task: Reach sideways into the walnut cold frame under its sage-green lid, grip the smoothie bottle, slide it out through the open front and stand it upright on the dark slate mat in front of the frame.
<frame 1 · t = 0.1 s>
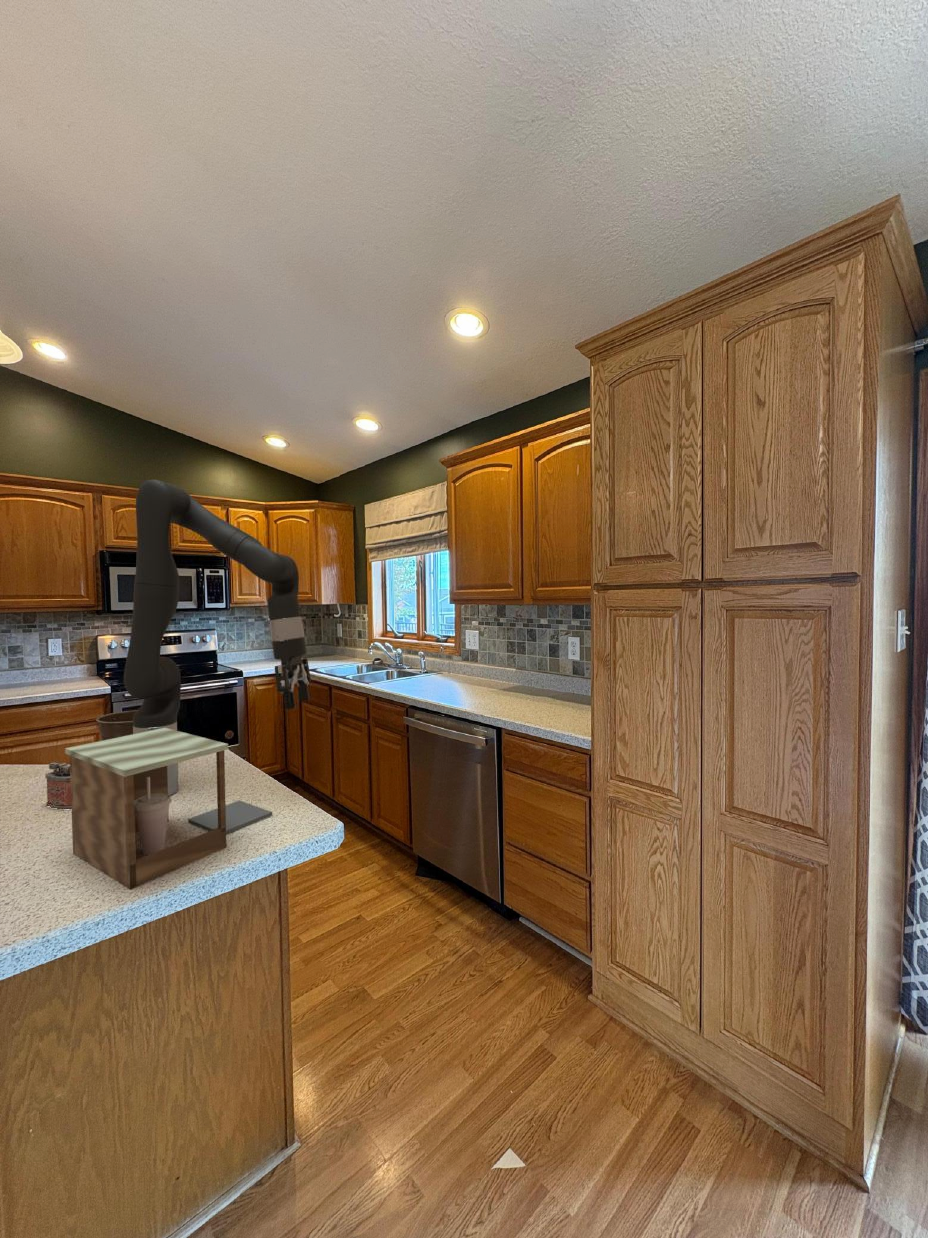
hand: (298, 704, 123), 22 cm above the countertop, tool pointing down, fingers open, 8 cm apart
smoothie: (153, 850, 98), on the countertop
plant pot: (134, 774, 141), on the countertop
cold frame: (153, 849, 98), on the countertop
lighter: (62, 807, 119), on the countertop
slate mat: (230, 819, 112), on the countertop
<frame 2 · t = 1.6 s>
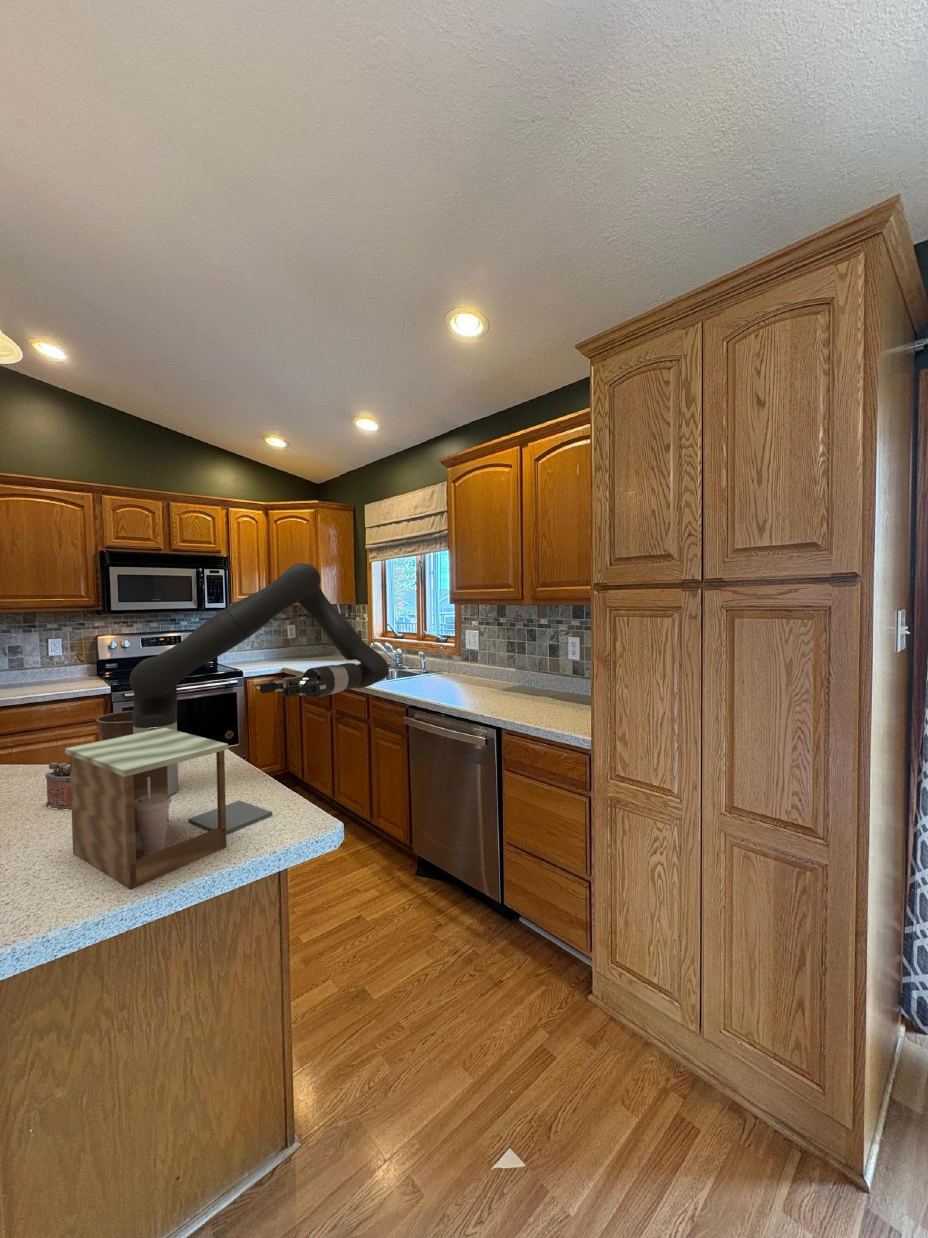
hand: (272, 690, 120), 26 cm above the countertop, tool horizontal, fingers open, 8 cm apart
nothing on the countertop moved.
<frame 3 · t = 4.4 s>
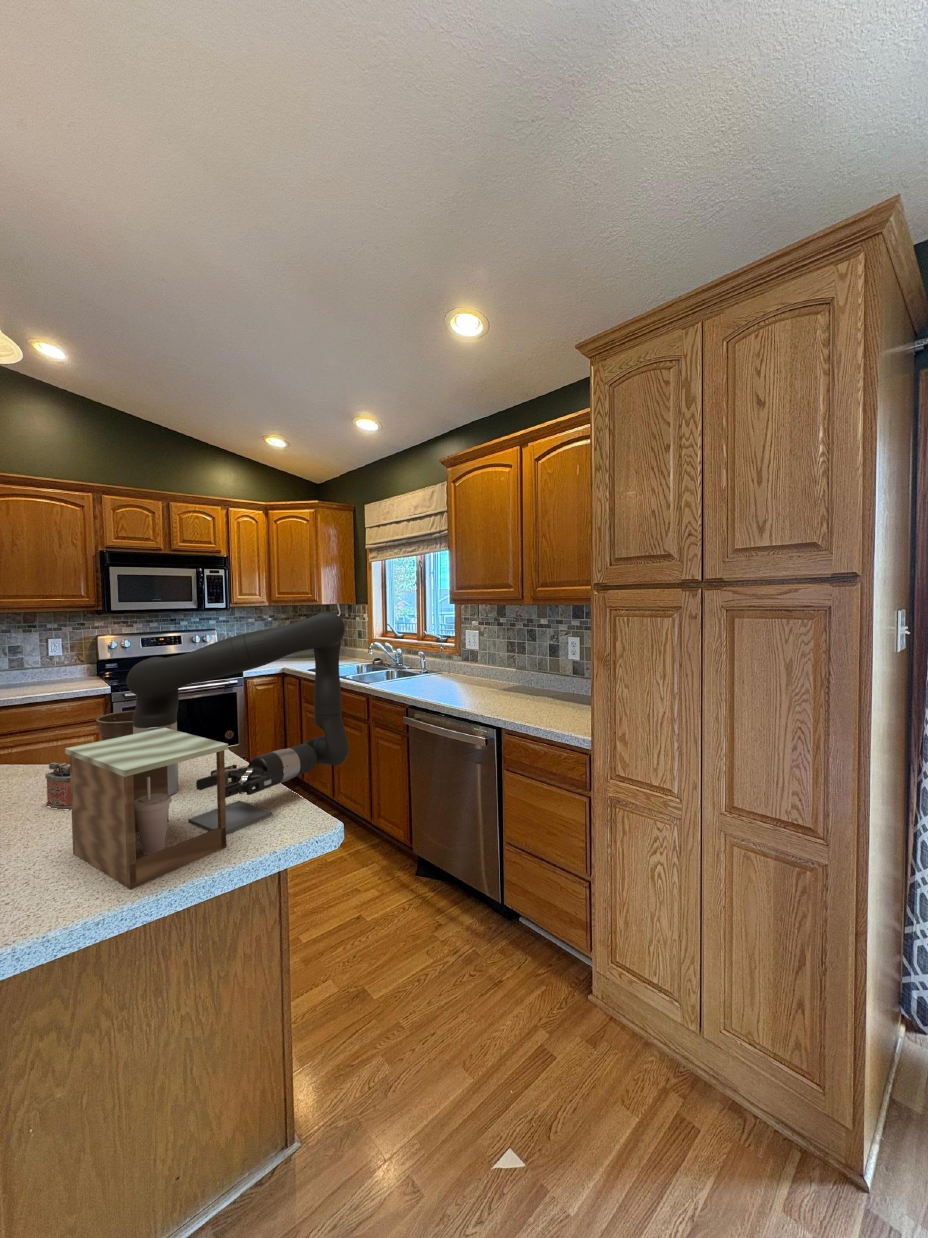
hand: (208, 789, 107), 8 cm above the countertop, tool horizontal, fingers open, 8 cm apart
nothing on the countertop moved.
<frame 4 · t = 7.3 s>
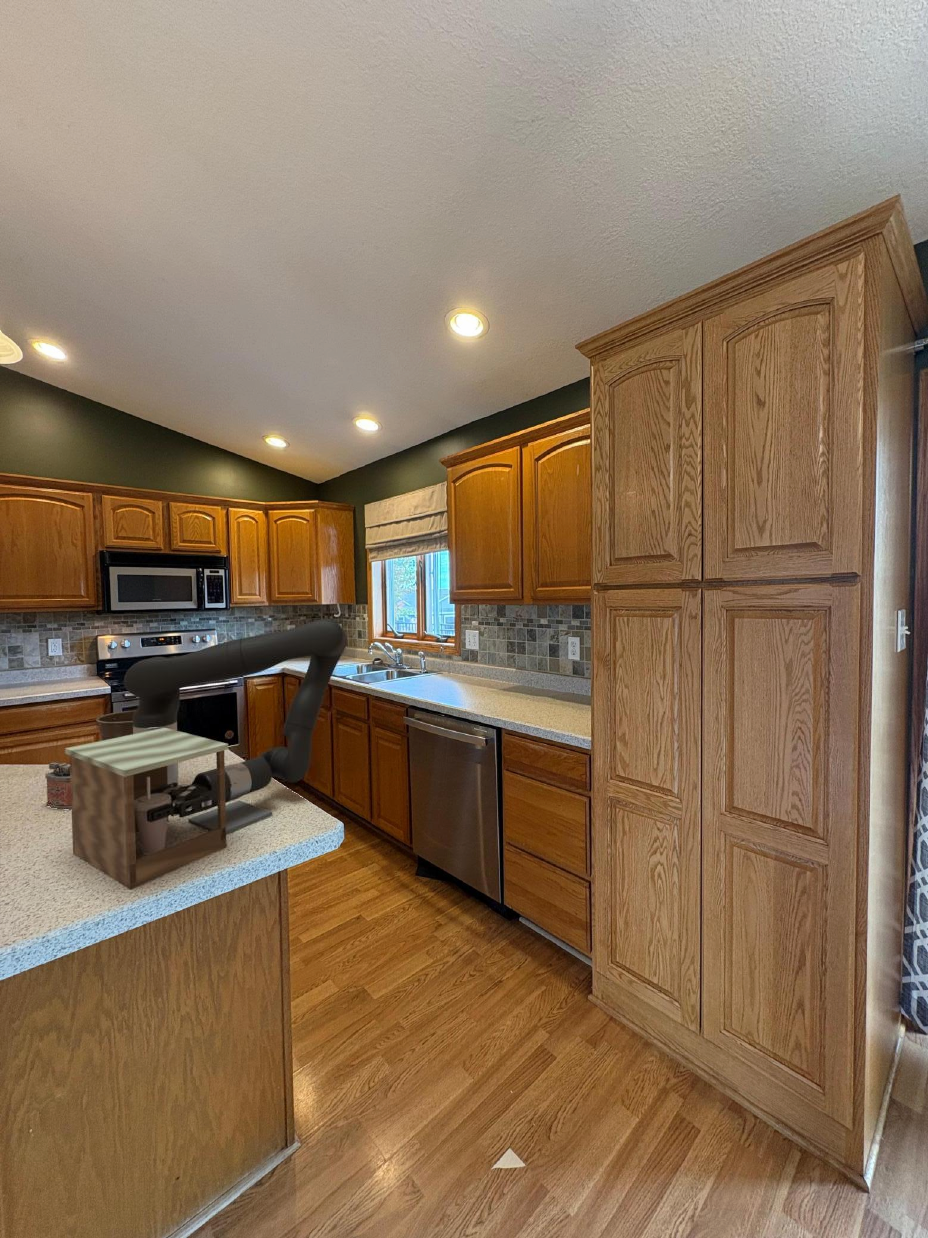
hand: (139, 812, 96), 8 cm above the countertop, tool horizontal, fingers closed on smoothie, 6 cm apart
smoothie: (153, 850, 98), on the countertop, touching gripper
everything else where it was.
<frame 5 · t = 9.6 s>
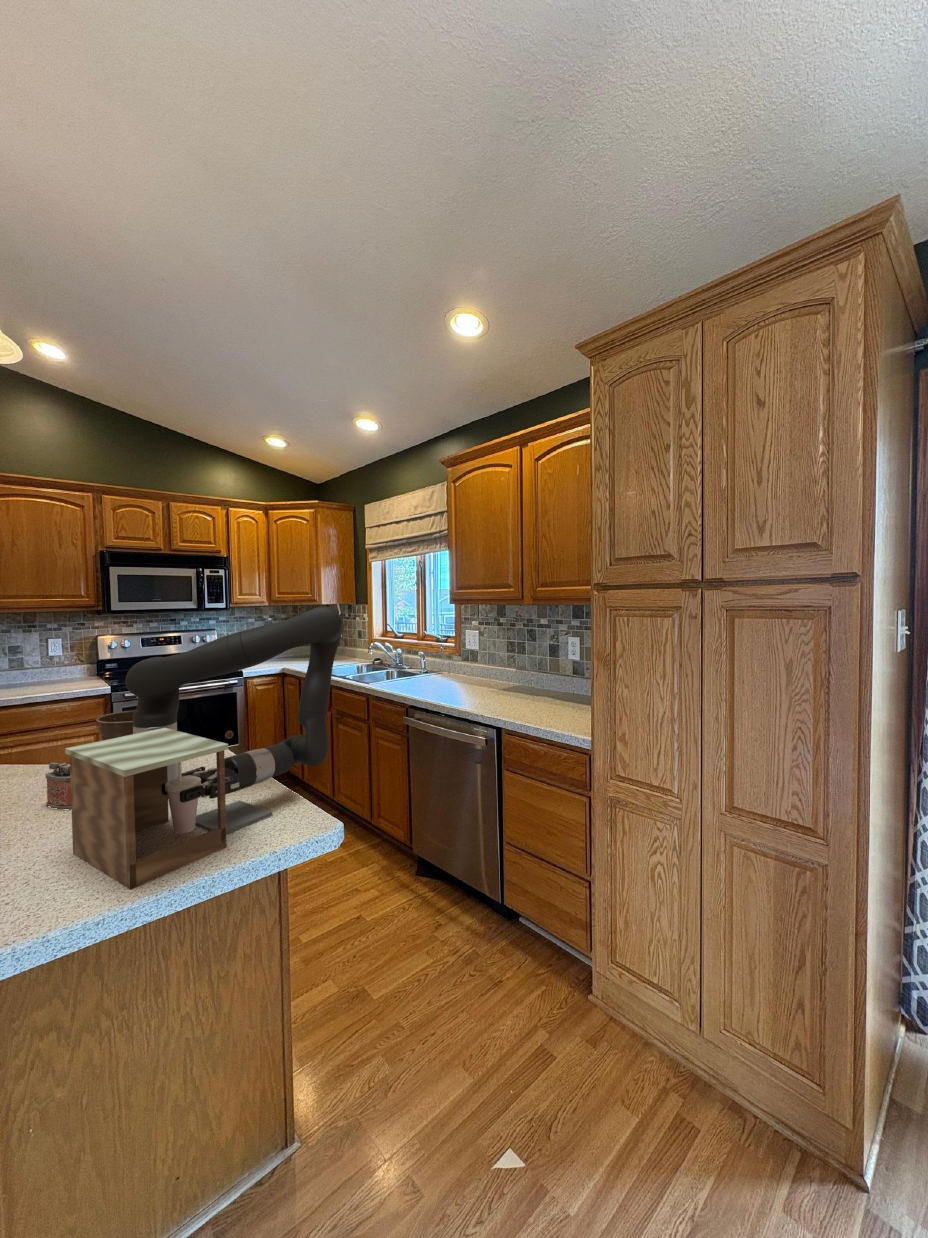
hand: (171, 793, 101), 10 cm above the countertop, tool horizontal, fingers closed on smoothie, 6 cm apart
smoothie: (184, 830, 103), point 1 cm above the countertop, touching gripper
everything else where it was.
when the fingers open (9 cm above the countertop, at t = 12.3 s): smoothie stays where it is, resting on slate mat.
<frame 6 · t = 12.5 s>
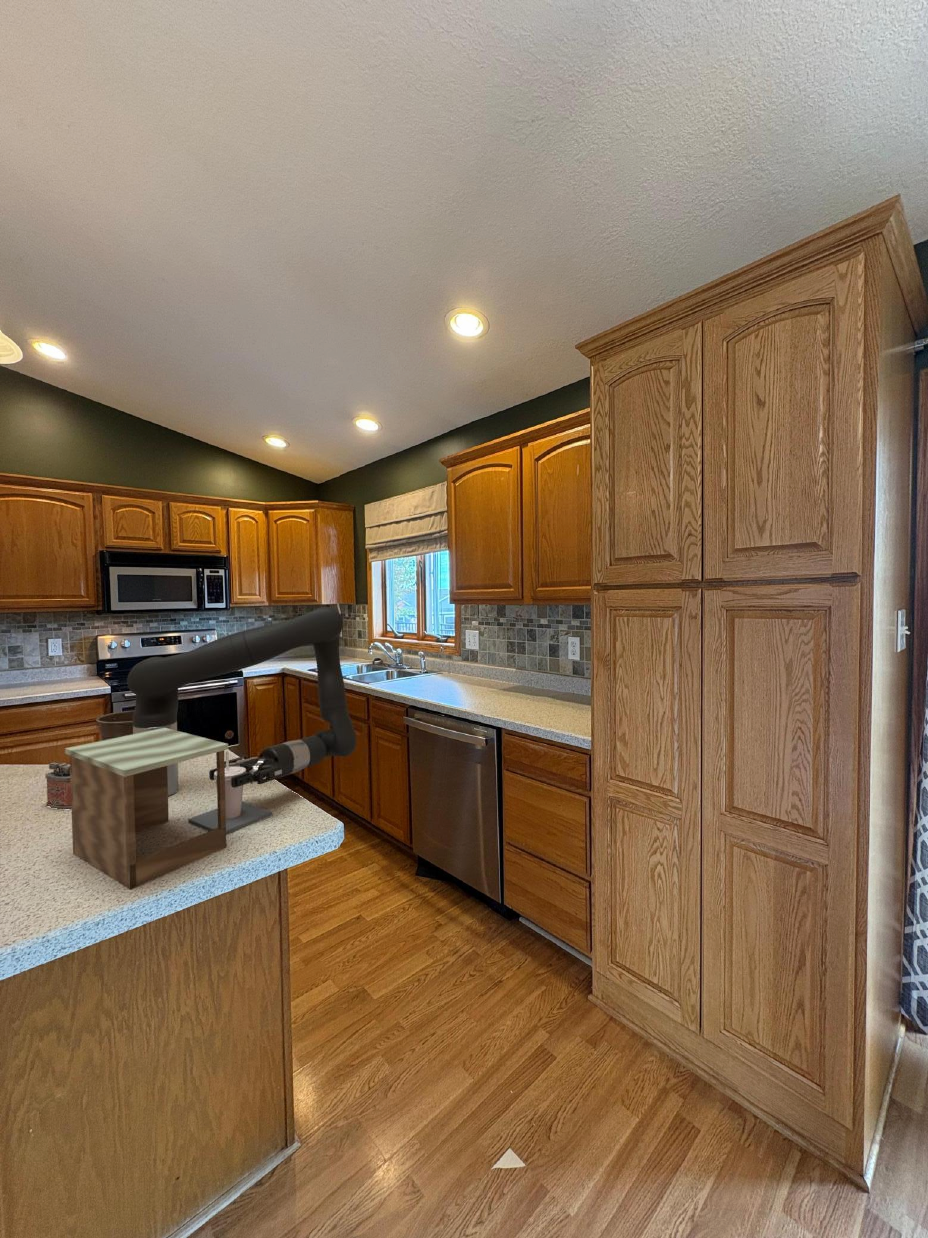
hand: (221, 779, 110), 9 cm above the countertop, tool horizontal, fingers open, 7 cm apart
smoothie: (231, 816, 112), point 1 cm above the countertop, touching slate mat
everything else where it was.
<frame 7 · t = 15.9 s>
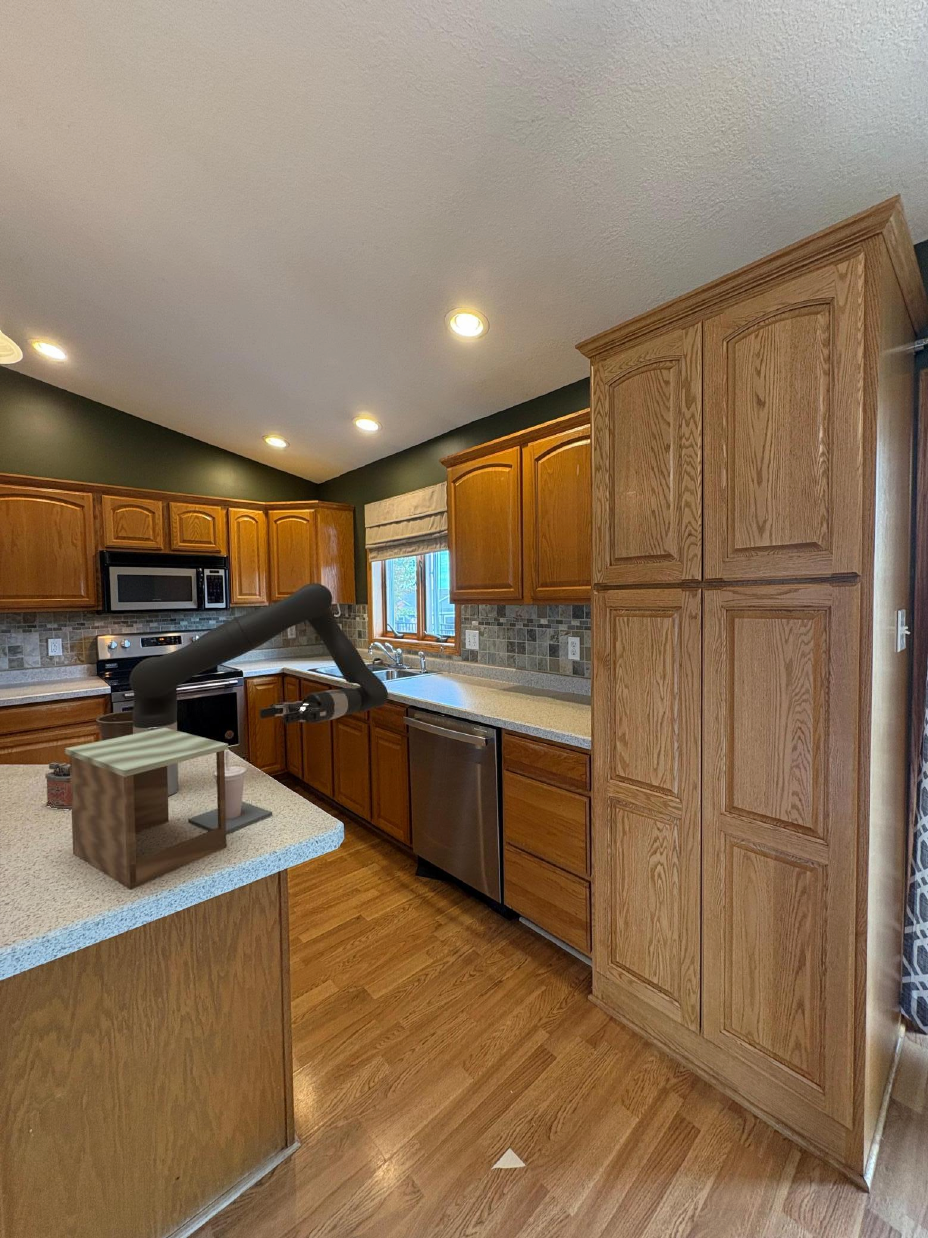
hand: (272, 716, 120), 20 cm above the countertop, tool horizontal, fingers open, 8 cm apart
nothing on the countertop moved.
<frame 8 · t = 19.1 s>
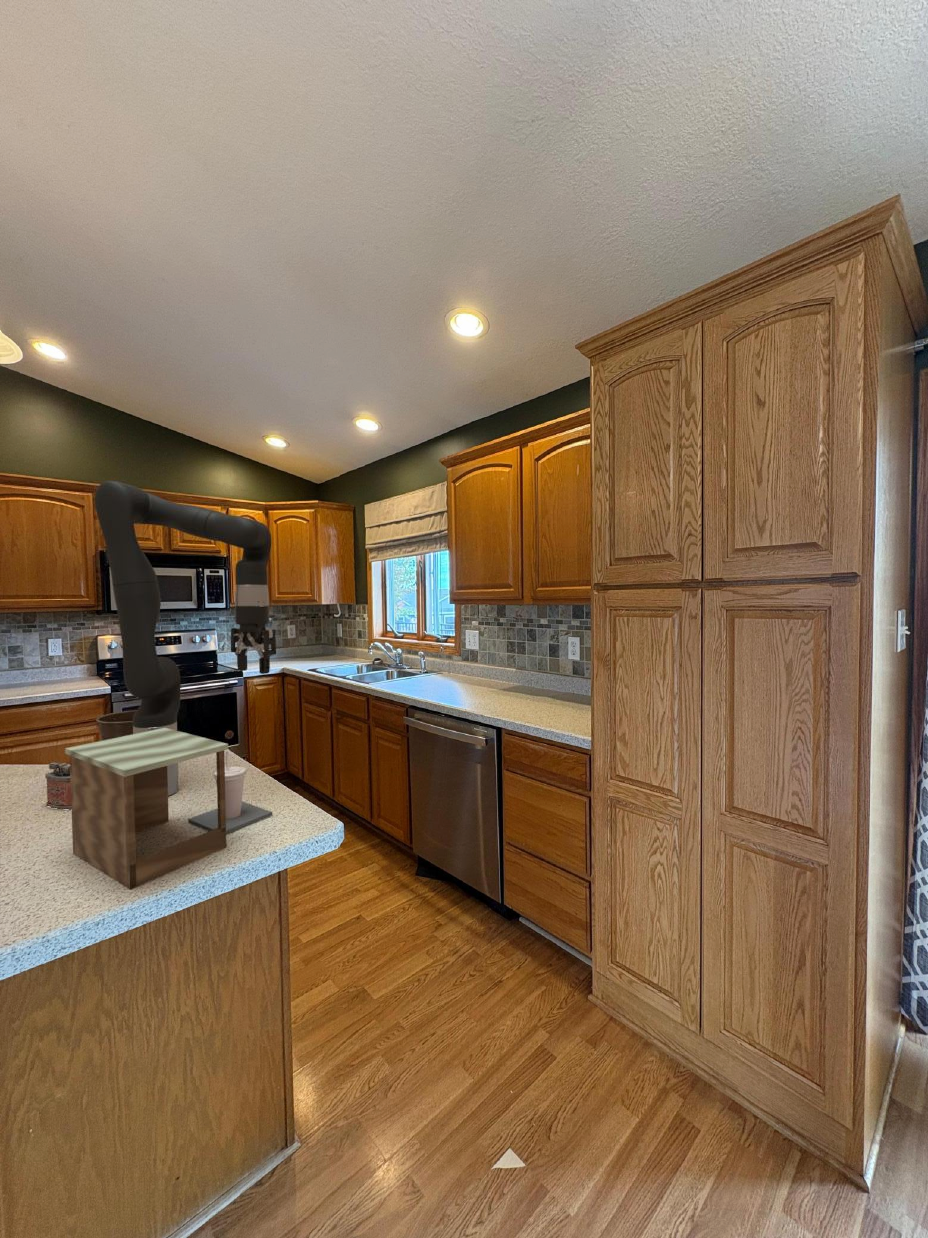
hand: (253, 672, 123), 30 cm above the countertop, tool pointing down, fingers open, 8 cm apart
nothing on the countertop moved.
at the end: smoothie inside the target area on the slate mat (0.1 cm from its centre), point 0.6 cm above the slate mat's base; smoothie tilted 0°; the gripper is holding nothing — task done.
